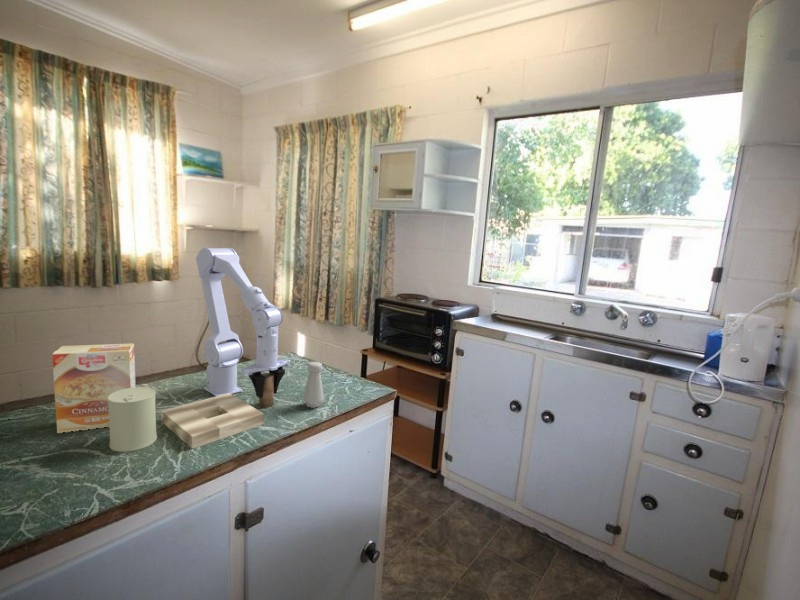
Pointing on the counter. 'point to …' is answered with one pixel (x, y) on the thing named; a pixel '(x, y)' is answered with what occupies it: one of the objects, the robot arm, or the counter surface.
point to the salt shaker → (314, 386)
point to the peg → (267, 391)
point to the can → (132, 418)
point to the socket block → (211, 419)
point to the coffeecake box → (89, 383)
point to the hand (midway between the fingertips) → (266, 394)
